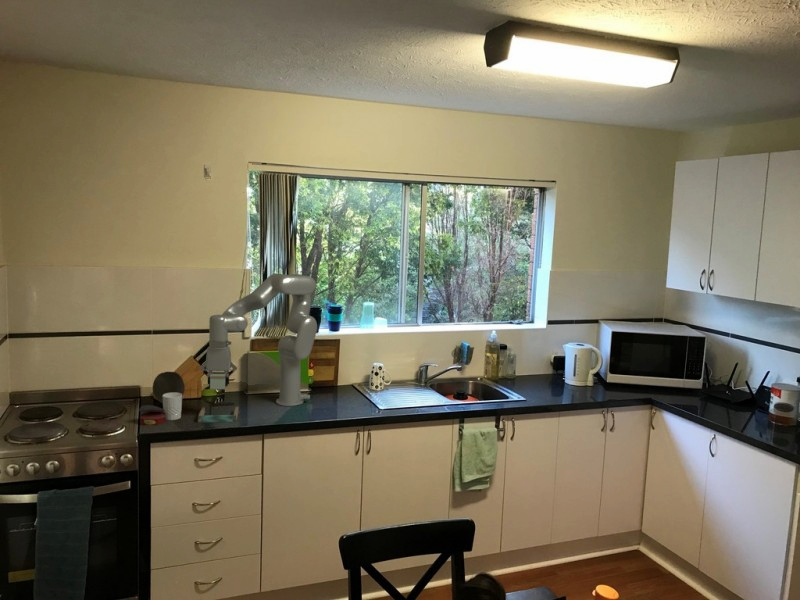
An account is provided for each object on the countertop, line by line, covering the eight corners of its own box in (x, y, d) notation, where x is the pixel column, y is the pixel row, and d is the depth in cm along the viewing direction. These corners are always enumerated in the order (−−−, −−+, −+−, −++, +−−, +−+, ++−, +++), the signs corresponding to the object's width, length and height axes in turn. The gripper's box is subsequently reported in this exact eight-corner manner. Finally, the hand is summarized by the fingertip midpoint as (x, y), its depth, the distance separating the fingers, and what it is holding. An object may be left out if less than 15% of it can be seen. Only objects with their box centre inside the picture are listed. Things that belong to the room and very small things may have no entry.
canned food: (139, 434, 265) (130, 412, 265) (160, 425, 273) (150, 404, 273) (154, 427, 258) (144, 404, 259) (174, 418, 267) (164, 396, 267)
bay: (238, 412, 283) (238, 406, 282) (236, 421, 270) (236, 415, 270) (202, 413, 280) (202, 407, 280) (197, 422, 267) (197, 416, 267)
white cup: (163, 421, 267) (162, 398, 266) (162, 416, 274) (161, 393, 273) (183, 419, 270) (182, 396, 269) (181, 414, 278) (181, 391, 276)
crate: (226, 385, 278) (226, 371, 277) (224, 389, 272) (225, 375, 271) (212, 385, 277) (212, 371, 276) (209, 389, 271) (209, 375, 270)
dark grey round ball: (192, 402, 295) (191, 370, 293) (169, 410, 282) (168, 377, 280) (168, 398, 300) (168, 367, 299) (145, 406, 288) (144, 373, 286)
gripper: (240, 342, 277) (240, 383, 279) (199, 342, 275) (198, 383, 277) (238, 346, 270) (238, 388, 272) (196, 345, 267) (196, 388, 269)
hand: (218, 385), depth 274 cm, fingers closed on crate, 6 cm apart
